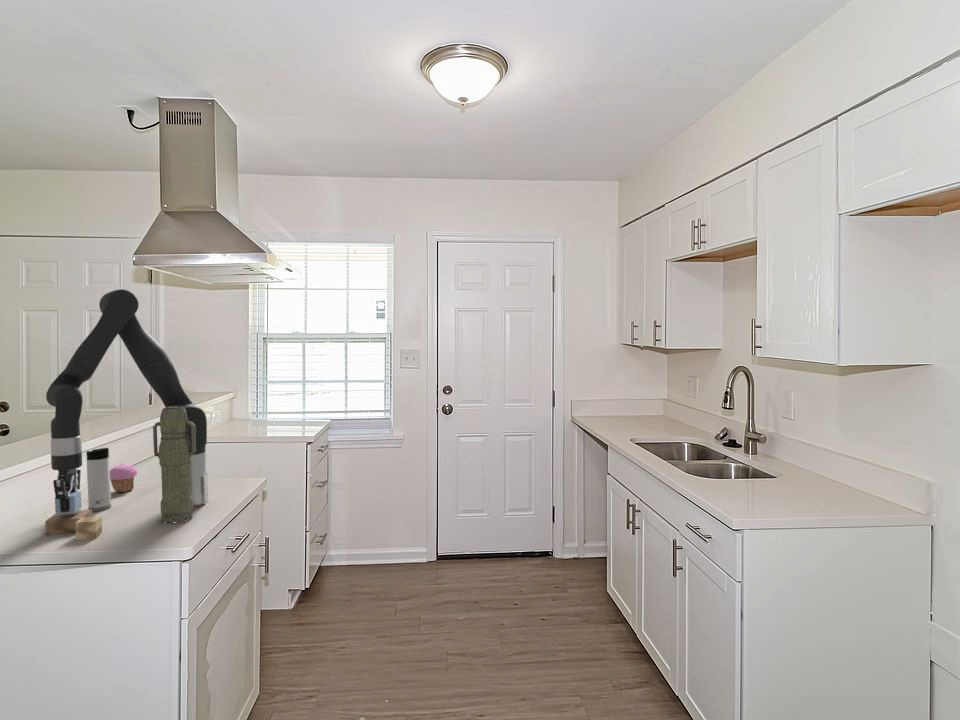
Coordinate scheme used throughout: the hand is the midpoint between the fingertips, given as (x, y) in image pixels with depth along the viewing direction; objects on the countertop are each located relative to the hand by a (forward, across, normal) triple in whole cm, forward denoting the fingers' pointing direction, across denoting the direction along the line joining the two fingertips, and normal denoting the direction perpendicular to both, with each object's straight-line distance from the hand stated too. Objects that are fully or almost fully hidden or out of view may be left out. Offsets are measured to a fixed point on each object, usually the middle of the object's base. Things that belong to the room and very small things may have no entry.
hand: (68, 508), depth 181 cm
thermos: (+6, +1, -29) cm, 30 cm away
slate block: (+1, 0, 0) cm, 1 cm away
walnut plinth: (+6, 0, 0) cm, 6 cm away
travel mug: (+6, +20, -2) cm, 21 cm away
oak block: (+6, -9, -8) cm, 13 cm away
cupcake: (+6, +41, -3) cm, 42 cm away
